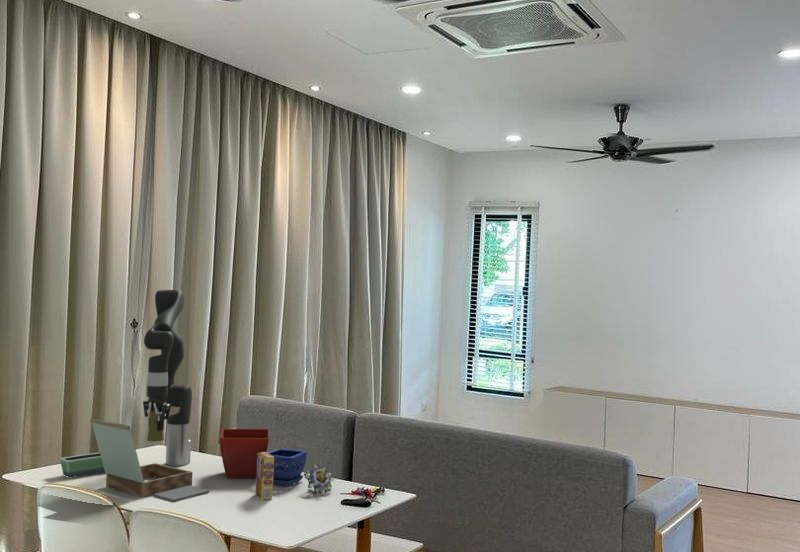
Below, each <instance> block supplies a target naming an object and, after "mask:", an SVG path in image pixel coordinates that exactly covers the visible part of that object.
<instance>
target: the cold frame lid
mask: <svg viewBox="0 0 800 552" xmlns="http://www.w3.org/2000/svg"><path fill="white" fill-rule="evenodd" d="M89 420H90V421H89V422H90V423H91V424H92V429H93V432H94V436H95V437H94V438H95V439H96V444H97V446H98V453H100V455H101V459H102V463H103V467H104V470H105V474H111V475H115V476H119V477H122V478H126V479H130V480H134V481H138V482H142V483H143V482H145V481H144V480H145V479H143V476H142V472H141V468H140V466H141V465H140V461H139V457H138V453H137V450H136V446H135V442H134V438H133V435H132V434H133V433H132V429H131V426H130V425H128V424H123V423H117V422H114V421H113V422H112V421H108V420H104V419H103V420H102V419H98V418H90V419H89Z"/></svg>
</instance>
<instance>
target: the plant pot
mask: <svg viewBox="0 0 800 552" xmlns="http://www.w3.org/2000/svg"><path fill="white" fill-rule="evenodd" d="M269 441H270V429H268V428H222V431H221V434H220V436H219V446H220V453H221V458H222V459H221V460H222V465H223V469H224V472H225V473H224V474H225V476H226V478H227V479H256V470H257V453H261V452H268V447H269Z"/></svg>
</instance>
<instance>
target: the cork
mask: <svg viewBox="0 0 800 552" xmlns="http://www.w3.org/2000/svg"><path fill="white" fill-rule="evenodd" d="M159 412H162V411H159ZM161 415H162V414H160V417H161ZM157 417H158V415H156V413H155V411H151V412H150V413H149V418H150V425H149V424H148V425H149V426H148V431H147V439H146V441H147V442H162V441H165V439H164V438H165V437H164V429H163V430H162V431H158V430H157V423H158V418H157Z"/></svg>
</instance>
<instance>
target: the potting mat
mask: <svg viewBox="0 0 800 552" xmlns="http://www.w3.org/2000/svg"><path fill="white" fill-rule="evenodd" d="M209 493H210V489H205V488H201V487H196V486H193V485H189V486H185V487H181V488H177V489H173V490H169V491H165V492H161V493H157V494H154V495H153V497H155V498H158V499H159V498H160V499H161V500H166V501H170V502H173V503H176V502H179V501H182V500H187V499H191V498H194V497H197V496H201V495H206V494H209Z"/></svg>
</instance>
